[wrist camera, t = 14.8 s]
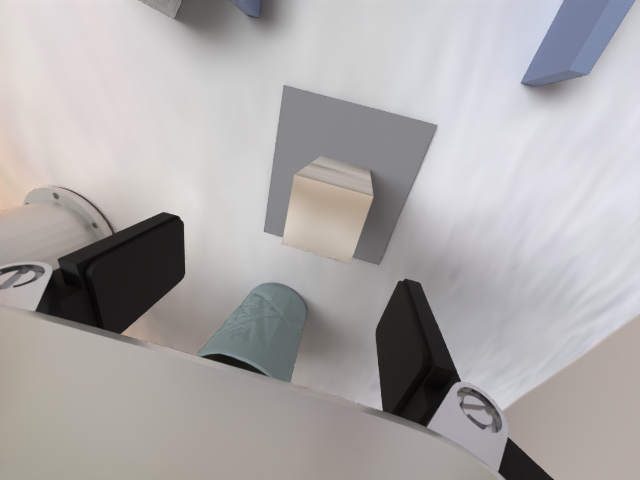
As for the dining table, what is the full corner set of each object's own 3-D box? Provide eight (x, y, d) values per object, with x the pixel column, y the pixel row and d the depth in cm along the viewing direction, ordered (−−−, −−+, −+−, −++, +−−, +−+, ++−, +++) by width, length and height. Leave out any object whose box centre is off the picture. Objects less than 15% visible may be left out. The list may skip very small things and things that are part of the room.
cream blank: (354, 215, 26) (350, 264, 17) (310, 203, 26) (281, 244, 17) (369, 169, 23) (373, 196, 14) (320, 155, 23) (294, 174, 15)
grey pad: (378, 262, 28) (378, 264, 28) (265, 230, 29) (263, 231, 28) (435, 125, 21) (436, 124, 21) (285, 85, 22) (283, 85, 21)
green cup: (316, 333, 35) (295, 425, 24) (253, 333, 37) (208, 418, 26) (302, 274, 31) (269, 354, 20) (232, 279, 33) (169, 353, 22)
